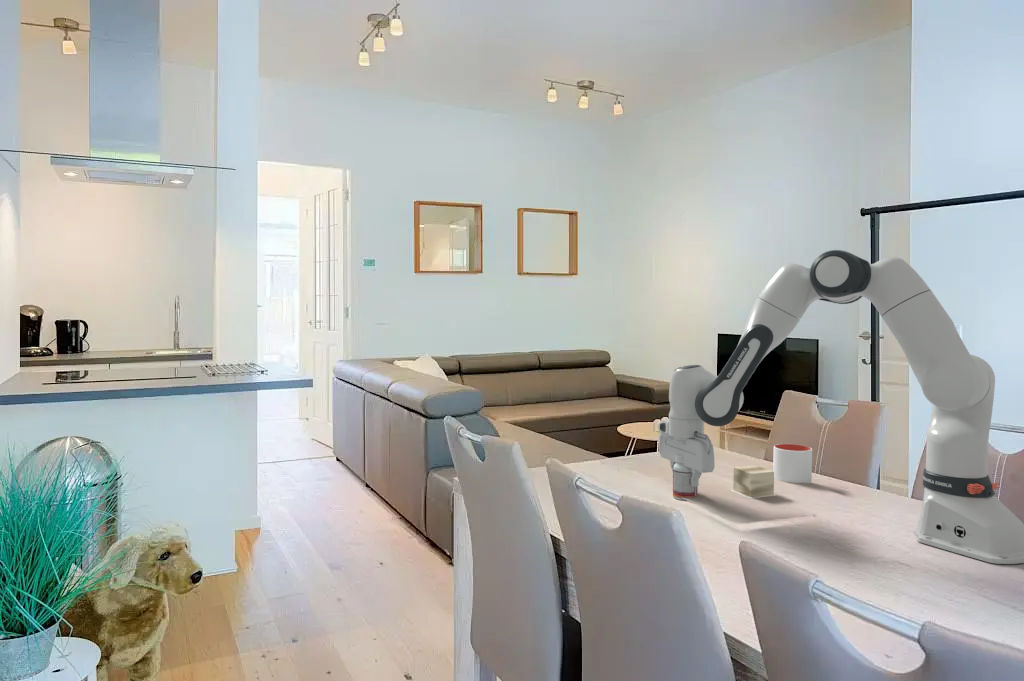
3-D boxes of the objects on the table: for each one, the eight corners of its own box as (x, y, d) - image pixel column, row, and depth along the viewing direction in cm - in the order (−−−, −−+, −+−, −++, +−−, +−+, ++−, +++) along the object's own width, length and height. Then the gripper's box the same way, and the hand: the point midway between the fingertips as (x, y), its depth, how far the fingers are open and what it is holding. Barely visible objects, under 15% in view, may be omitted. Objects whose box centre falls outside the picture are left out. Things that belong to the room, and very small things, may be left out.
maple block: (773, 494, 180) (774, 471, 180) (750, 497, 178) (751, 473, 178) (755, 488, 187) (756, 465, 186) (733, 490, 184) (733, 467, 184)
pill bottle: (682, 493, 186) (683, 451, 185) (702, 498, 181) (703, 454, 180) (667, 497, 182) (668, 454, 181) (687, 503, 177) (688, 458, 177)
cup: (817, 487, 192) (818, 451, 192) (780, 487, 193) (781, 451, 192) (803, 478, 202) (803, 443, 202) (767, 478, 203) (768, 443, 202)
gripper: (721, 435, 172) (720, 491, 172) (675, 421, 191) (674, 472, 192) (699, 436, 170) (698, 493, 170) (654, 422, 189) (654, 474, 190)
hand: (685, 482), depth 181 cm, fingers closed on pill bottle, 6 cm apart
